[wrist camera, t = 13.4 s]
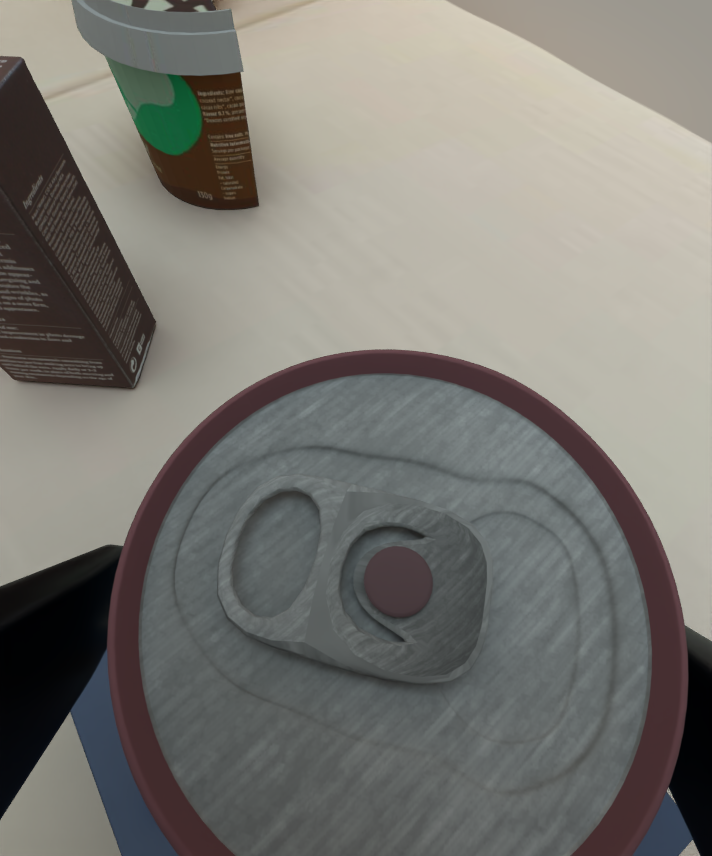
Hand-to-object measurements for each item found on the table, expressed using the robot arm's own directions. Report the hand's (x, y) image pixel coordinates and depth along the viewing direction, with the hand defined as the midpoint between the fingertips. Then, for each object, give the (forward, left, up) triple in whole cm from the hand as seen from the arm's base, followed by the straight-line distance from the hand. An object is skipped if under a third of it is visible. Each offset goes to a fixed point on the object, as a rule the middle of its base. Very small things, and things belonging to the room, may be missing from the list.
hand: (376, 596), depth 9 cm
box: (+18, +4, -11) cm, 22 cm away
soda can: (0, 0, -8) cm, 8 cm away
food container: (+28, -6, -11) cm, 31 cm away
